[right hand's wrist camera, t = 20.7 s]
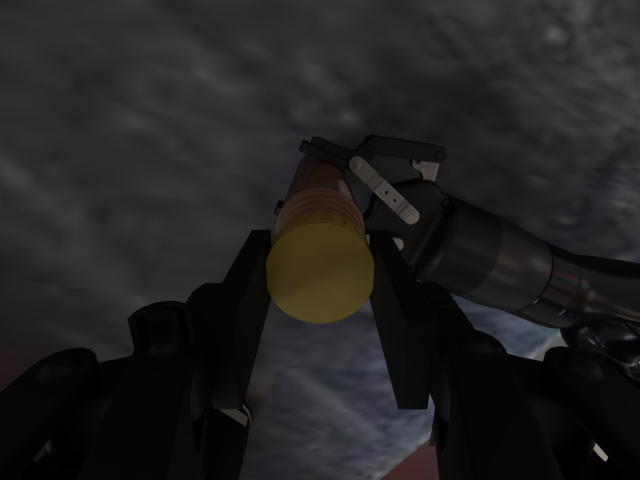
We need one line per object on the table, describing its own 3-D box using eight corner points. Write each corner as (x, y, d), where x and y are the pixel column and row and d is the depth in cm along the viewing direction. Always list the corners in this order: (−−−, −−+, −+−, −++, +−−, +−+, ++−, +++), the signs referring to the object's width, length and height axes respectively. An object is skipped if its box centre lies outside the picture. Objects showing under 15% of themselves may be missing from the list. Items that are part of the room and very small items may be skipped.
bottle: (335, 203, 35) (356, 328, 15) (291, 191, 34) (251, 302, 14) (349, 158, 33) (394, 230, 13) (303, 145, 32) (277, 198, 13)
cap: (314, 322, 15) (314, 343, 14) (246, 255, 14) (238, 271, 13) (392, 265, 14) (400, 282, 13) (325, 188, 13) (326, 197, 12)
